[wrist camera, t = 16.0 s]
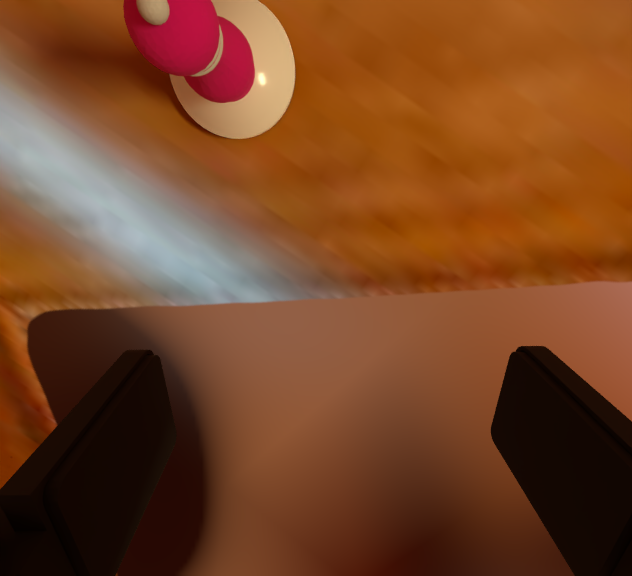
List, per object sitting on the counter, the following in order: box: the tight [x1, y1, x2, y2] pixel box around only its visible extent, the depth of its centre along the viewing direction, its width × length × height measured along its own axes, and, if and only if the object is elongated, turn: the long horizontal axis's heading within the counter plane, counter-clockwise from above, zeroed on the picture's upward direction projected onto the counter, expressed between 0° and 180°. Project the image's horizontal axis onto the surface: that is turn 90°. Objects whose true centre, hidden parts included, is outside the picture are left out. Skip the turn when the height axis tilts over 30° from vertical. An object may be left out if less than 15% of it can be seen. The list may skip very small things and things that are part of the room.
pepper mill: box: [123, 0, 255, 103], centre depth 28 cm, size 7×7×20 cm
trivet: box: [169, 0, 295, 139], centre depth 38 cm, size 14×14×2 cm
